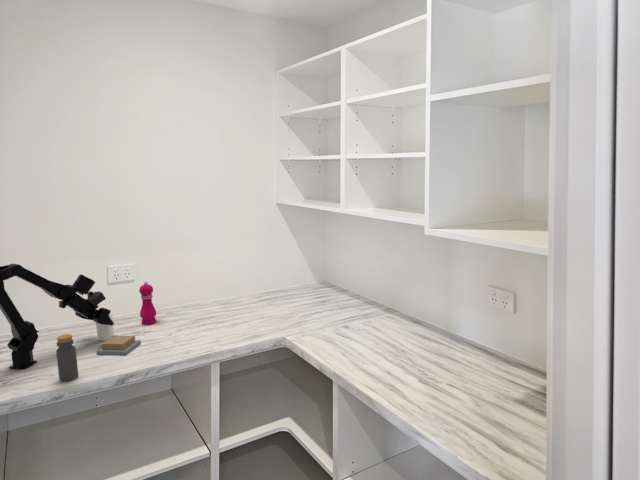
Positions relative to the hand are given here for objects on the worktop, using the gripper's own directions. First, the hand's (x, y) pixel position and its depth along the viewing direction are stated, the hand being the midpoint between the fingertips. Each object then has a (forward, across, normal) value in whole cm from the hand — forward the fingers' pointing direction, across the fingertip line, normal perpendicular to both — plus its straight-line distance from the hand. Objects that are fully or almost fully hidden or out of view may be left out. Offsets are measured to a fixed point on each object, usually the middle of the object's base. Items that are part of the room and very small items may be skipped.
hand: (107, 322), depth 197 cm
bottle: (-16, -26, +26) cm, 39 cm away
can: (+4, 0, +6) cm, 7 cm away
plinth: (+2, -16, +8) cm, 18 cm away
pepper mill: (+20, +3, -10) cm, 23 cm away
